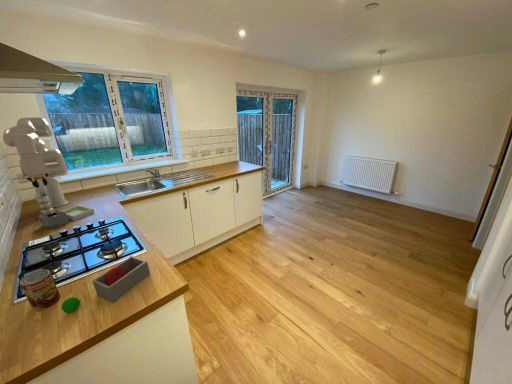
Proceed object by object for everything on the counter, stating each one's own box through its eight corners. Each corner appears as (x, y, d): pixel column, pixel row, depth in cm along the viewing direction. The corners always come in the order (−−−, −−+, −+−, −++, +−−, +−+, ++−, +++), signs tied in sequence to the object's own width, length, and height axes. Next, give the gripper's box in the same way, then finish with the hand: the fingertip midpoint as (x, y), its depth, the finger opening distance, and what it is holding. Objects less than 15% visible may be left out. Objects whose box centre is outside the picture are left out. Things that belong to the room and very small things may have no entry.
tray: (59, 215, 150) (57, 211, 149) (80, 208, 161) (78, 204, 160) (74, 220, 143) (72, 216, 142) (94, 212, 154) (93, 208, 153)
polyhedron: (84, 303, 80) (80, 293, 79) (76, 314, 76) (72, 304, 74) (69, 305, 79) (65, 295, 78) (60, 316, 75) (56, 306, 73)
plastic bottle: (57, 213, 154) (47, 187, 147) (45, 217, 148) (34, 190, 141) (52, 212, 156) (42, 186, 149) (40, 216, 150) (29, 189, 143)
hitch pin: (37, 196, 130) (29, 175, 126) (47, 193, 134) (39, 173, 130) (41, 197, 129) (33, 176, 124) (51, 194, 133) (43, 174, 128)
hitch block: (42, 226, 136) (37, 216, 134) (60, 219, 145) (57, 210, 142) (50, 229, 132) (46, 219, 130) (69, 222, 141) (65, 212, 138)
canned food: (42, 313, 76) (29, 287, 72) (27, 308, 78) (13, 282, 74) (65, 296, 83) (55, 271, 79) (51, 292, 85) (40, 267, 81)
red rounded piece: (115, 293, 85) (110, 277, 82) (108, 289, 87) (103, 273, 84) (142, 273, 95) (138, 258, 92) (135, 270, 97) (131, 256, 94)
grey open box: (97, 295, 84) (92, 280, 81) (135, 268, 98) (131, 255, 95) (113, 303, 80) (108, 288, 77) (150, 274, 94) (147, 261, 92)
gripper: (44, 153, 131) (54, 181, 138) (6, 158, 117) (19, 189, 124) (50, 154, 128) (60, 183, 135) (12, 159, 114) (26, 191, 121)
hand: (41, 186), depth 129 cm, fingers closed on hitch pin, 3 cm apart
